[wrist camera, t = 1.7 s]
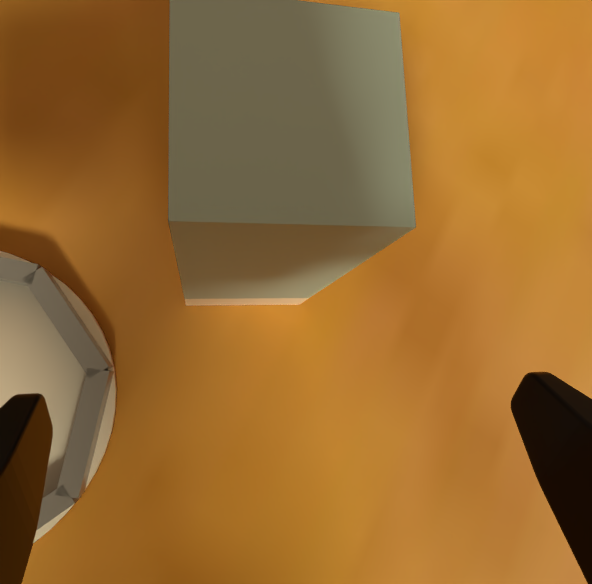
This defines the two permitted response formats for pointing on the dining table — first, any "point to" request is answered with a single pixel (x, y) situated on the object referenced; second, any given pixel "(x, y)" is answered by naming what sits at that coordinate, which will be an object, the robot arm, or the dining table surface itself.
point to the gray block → (283, 146)
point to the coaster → (57, 376)
